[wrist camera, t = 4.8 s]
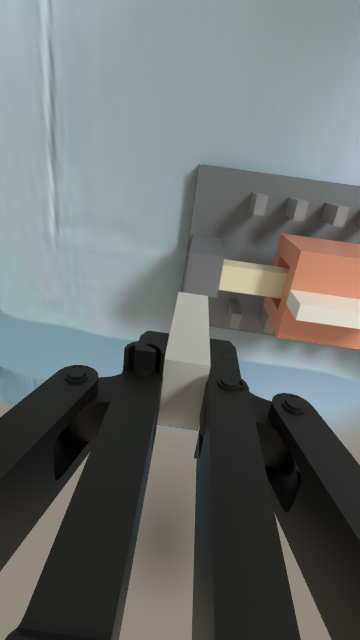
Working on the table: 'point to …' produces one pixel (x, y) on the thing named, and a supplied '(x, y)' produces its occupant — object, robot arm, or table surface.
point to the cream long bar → (253, 278)
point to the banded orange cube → (317, 292)
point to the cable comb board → (257, 232)
